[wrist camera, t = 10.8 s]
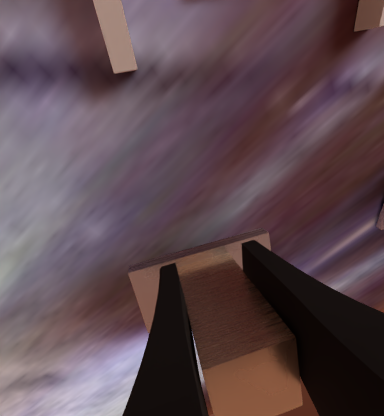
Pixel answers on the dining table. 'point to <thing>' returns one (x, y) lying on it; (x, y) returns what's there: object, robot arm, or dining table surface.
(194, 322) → the scraper
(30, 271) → the dining table surface
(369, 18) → the frame
